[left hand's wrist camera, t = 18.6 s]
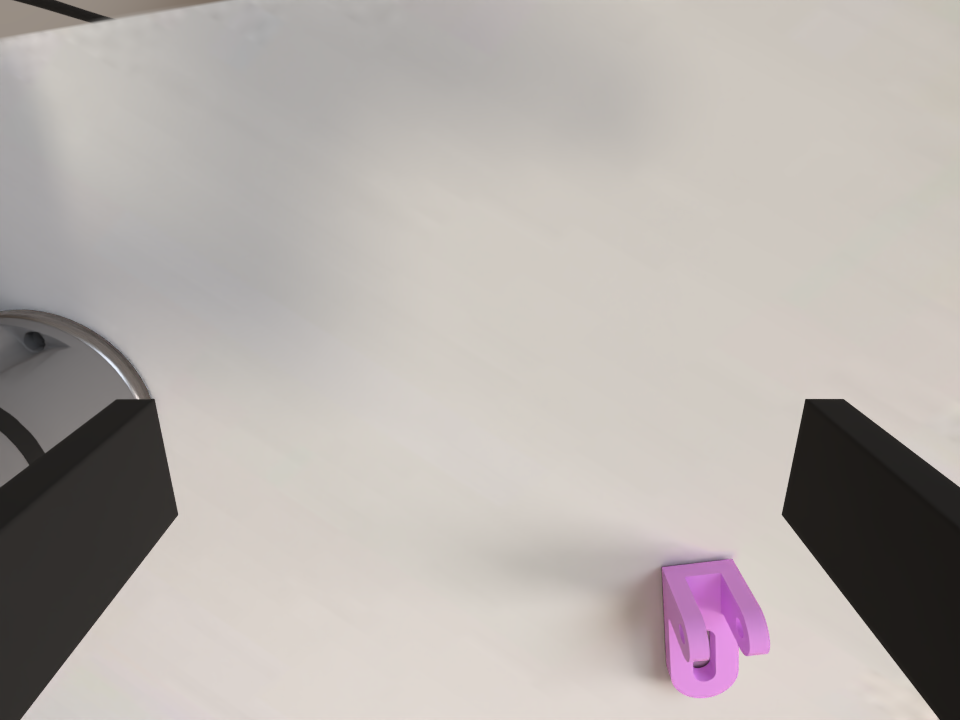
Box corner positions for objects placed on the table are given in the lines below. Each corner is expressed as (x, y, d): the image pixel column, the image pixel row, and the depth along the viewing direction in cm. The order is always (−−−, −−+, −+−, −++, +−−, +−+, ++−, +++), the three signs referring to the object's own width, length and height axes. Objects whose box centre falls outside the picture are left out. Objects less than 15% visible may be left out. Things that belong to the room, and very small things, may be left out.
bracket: (661, 567, 50) (689, 634, 43) (732, 559, 49) (770, 625, 43) (667, 687, 54) (693, 764, 48) (732, 680, 54) (766, 756, 47)
